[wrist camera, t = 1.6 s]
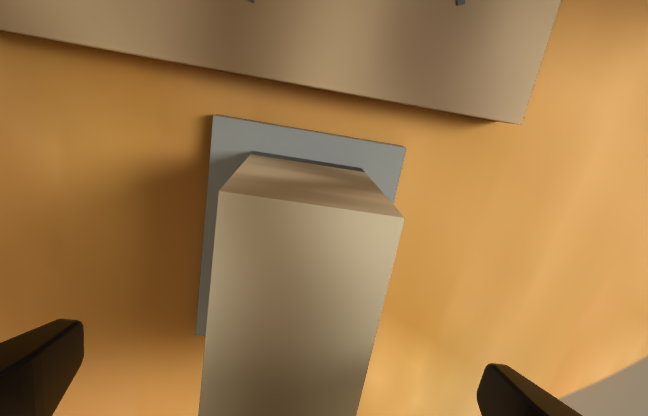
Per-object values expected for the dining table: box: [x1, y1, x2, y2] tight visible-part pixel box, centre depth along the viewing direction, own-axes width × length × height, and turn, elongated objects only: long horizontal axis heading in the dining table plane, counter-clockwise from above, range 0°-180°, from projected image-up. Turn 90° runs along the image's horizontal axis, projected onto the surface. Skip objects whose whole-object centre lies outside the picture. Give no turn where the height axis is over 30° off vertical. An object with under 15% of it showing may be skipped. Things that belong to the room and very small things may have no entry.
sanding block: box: [198, 151, 405, 416], centre depth 11 cm, size 4×7×6 cm, turn 170°
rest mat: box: [195, 115, 406, 336], centre depth 14 cm, size 7×9×1 cm
